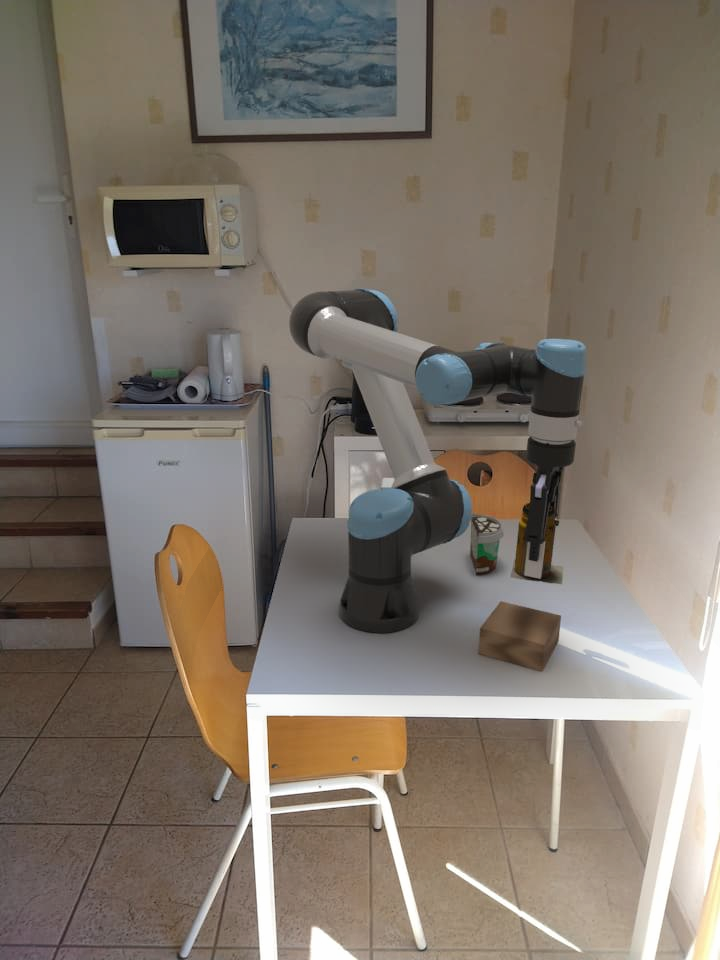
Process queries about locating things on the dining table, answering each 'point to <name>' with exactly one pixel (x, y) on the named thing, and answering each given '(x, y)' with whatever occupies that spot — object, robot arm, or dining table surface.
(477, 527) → the food container
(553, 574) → the condiment
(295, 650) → the dining table surface
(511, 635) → the walnut block
